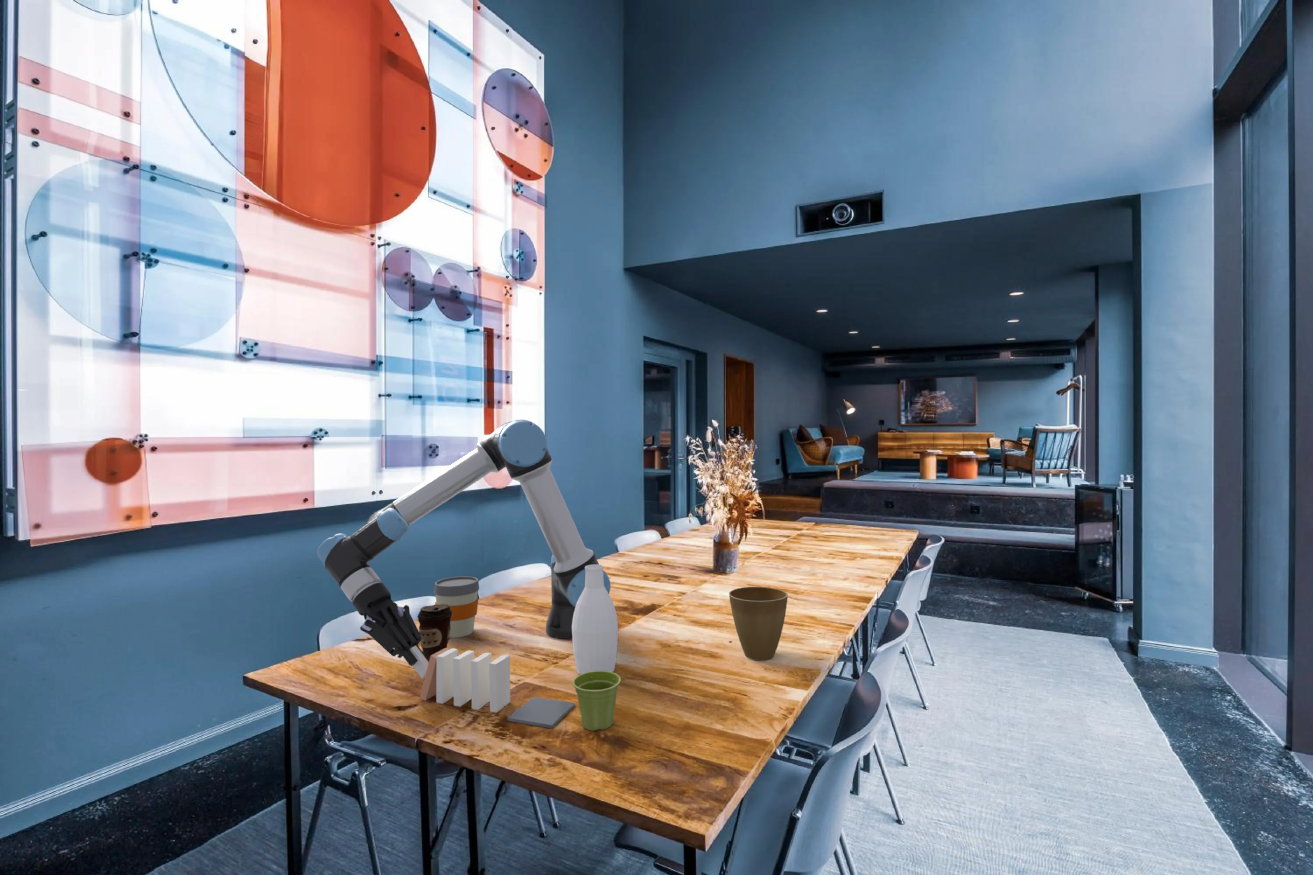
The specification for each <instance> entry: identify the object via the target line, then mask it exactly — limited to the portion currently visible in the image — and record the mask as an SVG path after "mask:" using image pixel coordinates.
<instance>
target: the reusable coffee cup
mask: <svg viewBox="0 0 1313 875" xmlns="http://www.w3.org/2000/svg"><path fill="white" fill-rule="evenodd" d="M479 590H480V582H479V579H478V578H477V577H475V576H466V575H465V576H464V575H462V576H453V577H446V578H442V579H439V580H437V581H436V582H434V590H433V594H434V595H435V602H434V603H435V604H434V605H439V604H446V605H449V606H450V610H452V616H451V621H450V626H451V630H450V639H451V638H452V639H453V638H462V637H463V638H464V637H466V636H469V635H471V634H472V633H474V629H475V628H474V627H475V620H476V615H477V614H478V608H479V607H478V606H479V597H478V592H479Z"/></svg>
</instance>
